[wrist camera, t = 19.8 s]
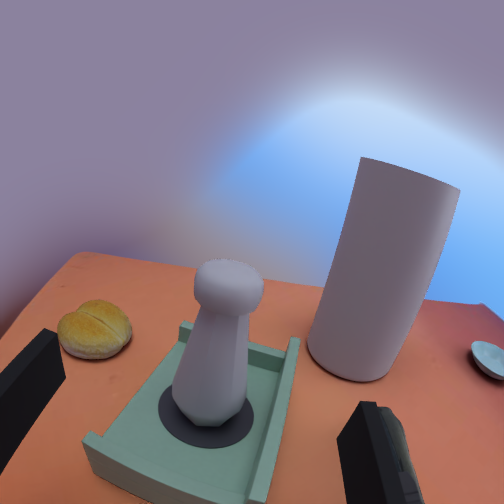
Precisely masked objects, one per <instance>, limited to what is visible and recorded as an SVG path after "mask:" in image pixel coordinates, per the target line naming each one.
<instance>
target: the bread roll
mask: <svg viewBox="0 0 504 504" xmlns="http://www.w3.org/2000/svg"><path fill="white" fill-rule="evenodd" d="M57 334H58V338H59V340H60V343H61V344H62V346H63V348H64V349H65V350H66V351H67V352H68V353H70V354H71V355H74V356H76V357H79V358H83V359H105V358H108V357H110V356H113V355H115V354H116V353H117V352H119V351H120V350H121V348H122V347H123V345H125V344H127V343H128V341H129V340H130V337H131V335H132V326H131V323H130V321H129V319H128V317H127V316H126V315H125V313H124V312H123V311H122V310H121V309H120V308H118V307H117V306H116V305H114V304H112V303H110V302H107V301H104V300H91V301H88V302H86V303H84V304H82V305H81V306H80V307H79V308H78V309H77V311H76V312H72V313H69V314H66V315H65V316H63V317H62V319H61V320H60V321H59V323H58V327H57Z"/></svg>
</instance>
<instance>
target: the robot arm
mask: <svg viewBox="0 0 504 504" xmlns="http://www.w3.org/2000/svg"><path fill="white" fill-rule="evenodd" d="M65 379H66V376H65V371H64V366H63V362H62V357H61V351H60V346H59V340H58V334H57V333H55V332H53V331H50V330H48V329H45V328H44V329H43V330H42V331H41V332H40V333H39V334H38V335H37V336H36V337H35V338H34V339H33V340H32V341H31V342H30V343H29V344H28V345H27V346H26V347H25V348H24V349H23V350H22V351H21V352H20V353H19V354H18V355H17V356H16V357H15V358H14V359H13V360H12V361H11V362H10V363H9V365H8V366H7V367H6V368H5V369H4V370H3V371H2V372H1V373H0V475H1V473H2V472H3V470H4V468H5V467H6V465H7V463H8V462H9V460H10V459H11V457H12V456H13V454H14V452H15V451H16V449H17V448H18V446H19V445H20V443H21V442H22V440H23V439H24V437H25V436H26V434H27V433H28V431H29V430H30V428H31V427H32V425H33V424H34V422H35V421H36V419H37V418H38V416H39V415H40V414H41V412H42V411H43V409H44V408H45V406H46V405H47V404H48V402H49V401H50V399H51V398H52V397H53V395H54V394H55V392H56V391H57V390H58V388H59V387H60V386H61V384H62V383H63V381H64V380H65ZM336 440H337V445H338V451H339V457H340V463H341V469H342V475H343V482H344V488H345V495H346V501H347V504H422V502H421V497H420V494H419V493H418V488H417V484H416V481H415V480H414V478H413V477H412V476H411V474H410V473H409V472H408V471H407V472H398V470H397V467H396V463H395V460H394V457H393V453H392V450H391V447H390V444H389V441H388V437H387V434H386V431H385V428H384V425H383V422H382V419H381V416H380V413H379V410H378V407H377V404H376V402H368V401H360V402H359V404H358V406H357V407H356V409H355V411H354V412H353V414H352V415H351V417H350V419H349V420H348V422H347V423H346V425H345V427H344V428H343V430H342V431H341V433H340V434H339V436H338V437H337V439H336Z"/></svg>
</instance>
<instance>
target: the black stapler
mask: <svg viewBox="0 0 504 504" xmlns="http://www.w3.org/2000/svg"><path fill="white" fill-rule="evenodd" d="M378 410H379V413H380V416H381V419H382V422H383V425H384V428H385V431H386V434H387V437H388V441H389V444H390V447H391V450H392V453H393V457H394V460H395V463H396V467H397V470H398V472H407V471H408V472H409V473H410V474H411V476H412V477H413V478H414V480H415V481H416V484H417V488H418V493H419V494H420V497H421V502H422V504H425V503H424V500H423V497H422V494H421V490H420V487H419V484H418V480H417V476H416V473H415V470H414V468H413V465H412V462H411V459H410V456H409V450H408V446H407V442H406V436H405V432H404V429H403V427H402V424H401V422H400V421H399V420H398V419H397V418H396V417H395V415H394V414H393V413H392V411H391V409H389V408H388V407H378Z"/></svg>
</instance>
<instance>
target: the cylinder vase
mask: <svg viewBox="0 0 504 504" xmlns="http://www.w3.org/2000/svg"><path fill="white" fill-rule="evenodd" d="M459 194H460V190H459V189H457V188H455V187H453V186H451V185H449V184H446V183H444V182H442V181H439V180H437V179H434V178H431V177H428V176H426V175H423V174H420V173H417V172H414V171H411V170H408V169H405V168H402V167H399V166H396V165H392V164H389V163H385V162H382V161H378V160H374V159H369V158H364V157H361V159H360V163H359V167H358V171H357V175H356V179H355V184H354V187H353V191H352V195H351V199H350V203H349V206H348V210H347V214H346V218H345V221H344V225H343V228H342V232H341V235H340V239H339V243H338V246H337V249H336V252H335V256H334V259H333V262H332V266H331V269H330V272H329V276H328V279H327V282H326V285H325V288H324V291H323V294H322V297H321V300H320V303H319V306H318V309H317V312H316V315H315V318H314V321H313V324H312V326H311V329H310V332H309V335H308V339H307V344H308V349H309V351H310V353H311V355H312V357H313V358H314V359H315V360H316V361H317V363H319V364H320V365H321V366H322V367H323V368H325V369H326V370H327V371H329V372H331V373H333V374H335V375H337V376H339V377H342V378H345V379H348V380H353V381H373V380H376V379H379V378H381V377H383V376H384V375H385V374H387V372H388V371H389V370H390V368H391V366H392V364H393V363H394V361H395V359H396V357H397V355H398V353H399V351H400V349H401V347H402V345H403V343H404V341H405V339H406V337H407V335H408V333H409V331H410V329H411V327H412V324H413V322H414V320H415V318H416V316H417V313H418V311H419V309H420V307H421V304H422V302H423V300H424V297H425V295H426V292H427V290H428V288H429V285H430V282H431V280H432V277H433V275H434V272H435V270H436V267H437V264H438V262H439V259H440V256H441V253H442V250H443V247H444V244H445V241H446V238H447V235H448V232H449V229H450V226H451V222H452V219H453V216H454V212H455V209H456V205H457V202H458V198H459Z"/></svg>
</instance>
